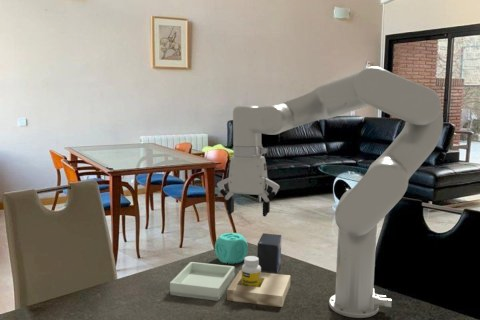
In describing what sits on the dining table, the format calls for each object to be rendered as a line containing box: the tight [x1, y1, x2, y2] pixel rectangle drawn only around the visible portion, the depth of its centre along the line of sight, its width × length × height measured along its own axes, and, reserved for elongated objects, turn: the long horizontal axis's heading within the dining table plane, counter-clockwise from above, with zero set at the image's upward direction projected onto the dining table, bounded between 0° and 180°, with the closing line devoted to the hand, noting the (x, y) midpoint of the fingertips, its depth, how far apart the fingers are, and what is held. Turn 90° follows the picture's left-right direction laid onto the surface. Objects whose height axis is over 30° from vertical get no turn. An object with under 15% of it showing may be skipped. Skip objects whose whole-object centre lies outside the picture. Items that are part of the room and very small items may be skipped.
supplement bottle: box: [241, 255, 261, 287], centre depth 132 cm, size 5×5×10 cm
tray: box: [169, 261, 236, 302], centre depth 136 cm, size 14×16×4 cm
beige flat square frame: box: [226, 269, 291, 308], centre depth 132 cm, size 15×14×3 cm
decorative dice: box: [214, 232, 249, 265], centre depth 156 cm, size 8×8×8 cm
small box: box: [256, 232, 282, 274], centre depth 146 cm, size 11×6×10 cm, turn 168°
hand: (248, 214), depth 129 cm, fingers open, 9 cm apart
